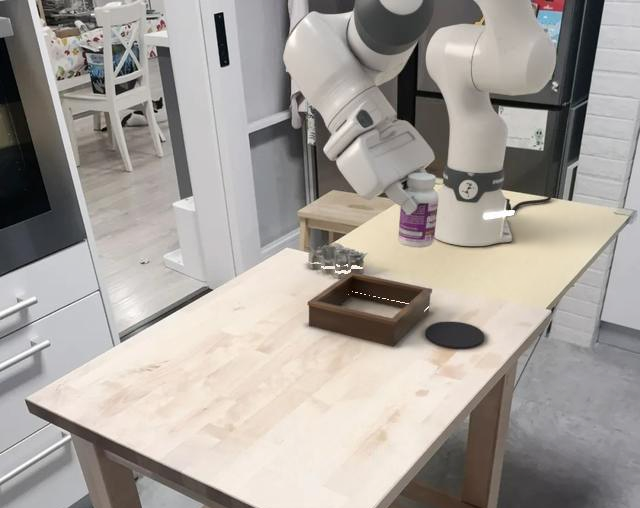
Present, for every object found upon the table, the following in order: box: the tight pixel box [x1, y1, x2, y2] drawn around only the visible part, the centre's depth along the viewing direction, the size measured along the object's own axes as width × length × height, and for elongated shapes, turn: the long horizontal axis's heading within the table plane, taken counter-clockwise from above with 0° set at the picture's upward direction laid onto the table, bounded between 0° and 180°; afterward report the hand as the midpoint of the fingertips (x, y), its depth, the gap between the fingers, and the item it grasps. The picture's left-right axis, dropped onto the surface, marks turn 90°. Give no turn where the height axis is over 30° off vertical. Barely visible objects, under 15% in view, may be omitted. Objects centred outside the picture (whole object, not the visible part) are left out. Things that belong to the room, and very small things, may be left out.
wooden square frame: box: [307, 272, 433, 347], centre depth 115 cm, size 15×15×4 cm
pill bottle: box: [397, 172, 439, 249], centre depth 104 cm, size 5×5×10 cm
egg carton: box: [304, 242, 369, 280], centre depth 133 cm, size 11×8×4 cm
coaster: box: [425, 321, 485, 350], centre depth 111 cm, size 9×9×1 cm
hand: (423, 205), depth 103 cm, fingers closed on pill bottle, 5 cm apart
